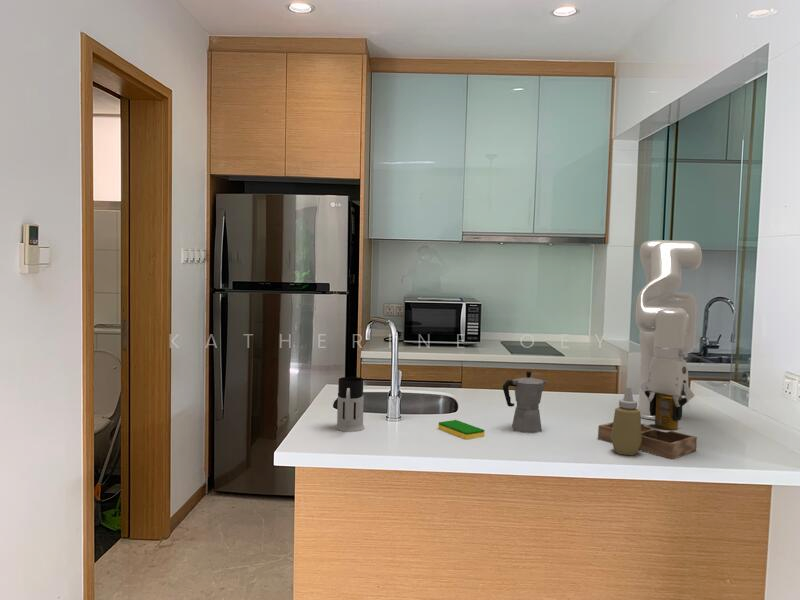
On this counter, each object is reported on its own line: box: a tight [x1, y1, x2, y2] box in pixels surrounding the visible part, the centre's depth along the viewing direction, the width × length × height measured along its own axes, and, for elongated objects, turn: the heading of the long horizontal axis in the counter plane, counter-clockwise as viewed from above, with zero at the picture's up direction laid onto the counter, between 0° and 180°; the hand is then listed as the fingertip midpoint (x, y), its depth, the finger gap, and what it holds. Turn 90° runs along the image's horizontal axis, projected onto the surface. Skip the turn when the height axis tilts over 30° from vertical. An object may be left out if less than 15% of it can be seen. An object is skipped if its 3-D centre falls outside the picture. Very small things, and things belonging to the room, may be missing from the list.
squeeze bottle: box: [611, 387, 642, 456], centre depth 177 cm, size 8×8×18 cm
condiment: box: [644, 393, 685, 432], centre depth 181 cm, size 7×8×12 cm
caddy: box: [597, 421, 698, 460], centre depth 186 cm, size 13×23×4 cm, turn 38°
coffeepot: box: [502, 371, 548, 434], centre depth 199 cm, size 15×9×18 cm, turn 110°
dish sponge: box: [437, 419, 485, 440], centre depth 195 cm, size 7×14×2 cm, turn 33°
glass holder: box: [335, 376, 365, 433], centre depth 193 cm, size 9×14×15 cm, turn 179°
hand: (665, 417), depth 181 cm, fingers closed on condiment, 6 cm apart
